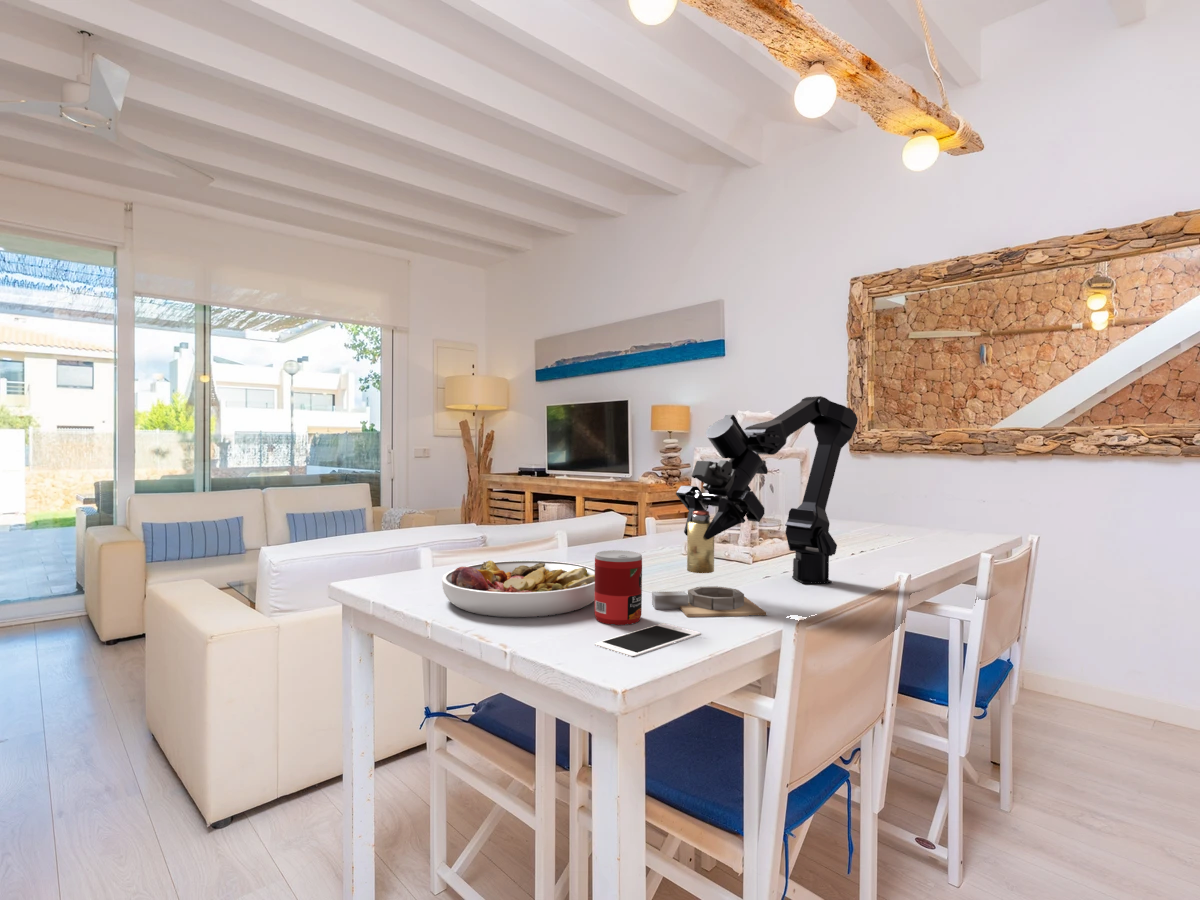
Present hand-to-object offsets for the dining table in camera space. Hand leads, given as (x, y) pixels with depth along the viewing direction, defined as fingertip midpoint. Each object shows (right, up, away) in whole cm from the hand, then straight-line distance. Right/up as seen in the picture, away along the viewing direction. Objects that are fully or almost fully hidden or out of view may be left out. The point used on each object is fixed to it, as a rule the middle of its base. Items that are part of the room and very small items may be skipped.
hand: (695, 535), depth 121 cm
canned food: (-15, -13, -12) cm, 23 cm away
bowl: (-32, -13, +2) cm, 35 cm away
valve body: (+1, -7, +1) cm, 7 cm away
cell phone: (-10, -13, -23) cm, 28 cm away
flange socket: (+1, -12, -2) cm, 13 cm away
